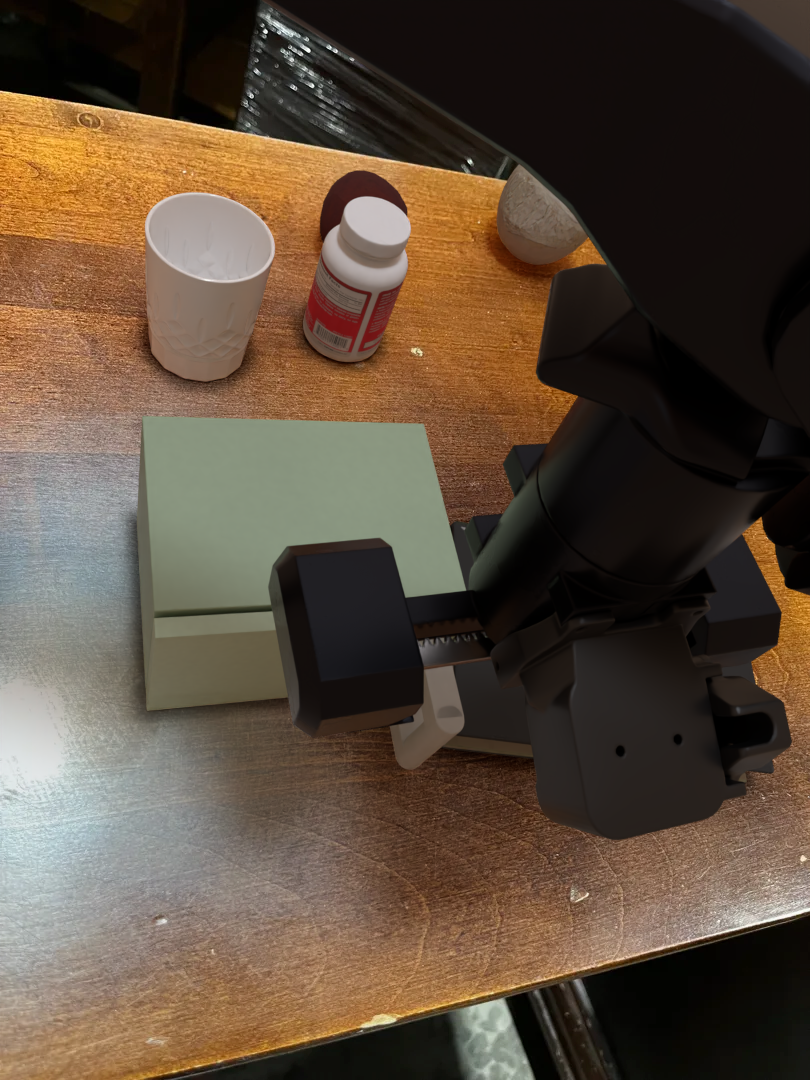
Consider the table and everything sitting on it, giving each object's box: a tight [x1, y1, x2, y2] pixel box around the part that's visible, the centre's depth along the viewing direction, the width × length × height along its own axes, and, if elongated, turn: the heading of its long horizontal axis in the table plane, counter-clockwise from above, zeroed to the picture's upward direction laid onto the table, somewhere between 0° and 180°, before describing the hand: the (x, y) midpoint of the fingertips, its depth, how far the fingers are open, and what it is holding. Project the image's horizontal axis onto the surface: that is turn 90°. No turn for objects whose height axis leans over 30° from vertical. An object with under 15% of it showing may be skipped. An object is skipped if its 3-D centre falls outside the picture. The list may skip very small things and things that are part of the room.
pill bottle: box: [302, 197, 412, 363], centre depth 58 cm, size 6×6×11 cm
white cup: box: [144, 191, 276, 383], centre depth 54 cm, size 8×8×10 cm
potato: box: [319, 169, 408, 244], centre depth 66 cm, size 7×8×6 cm
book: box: [440, 520, 775, 784], centre depth 54 cm, size 22×15×3 cm
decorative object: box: [496, 164, 589, 266], centre depth 71 cm, size 9×9×10 cm
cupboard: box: [136, 415, 466, 690], centre depth 46 cm, size 11×16×11 cm
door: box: [145, 611, 464, 770], centre depth 42 cm, size 6×16×10 cm, turn 102°
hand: (467, 689), depth 36 cm, fingers open, 9 cm apart
